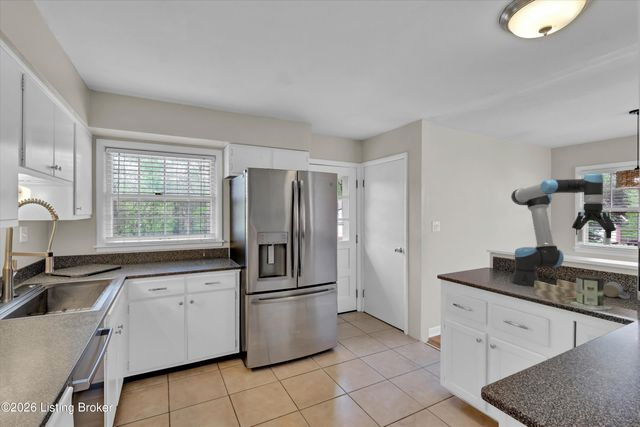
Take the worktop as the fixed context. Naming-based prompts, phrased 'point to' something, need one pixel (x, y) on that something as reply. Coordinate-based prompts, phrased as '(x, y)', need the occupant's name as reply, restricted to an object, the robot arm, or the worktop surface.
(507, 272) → the worktop surface
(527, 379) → the worktop surface
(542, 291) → the access box
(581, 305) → the trivet
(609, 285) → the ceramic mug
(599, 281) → the coffee can
